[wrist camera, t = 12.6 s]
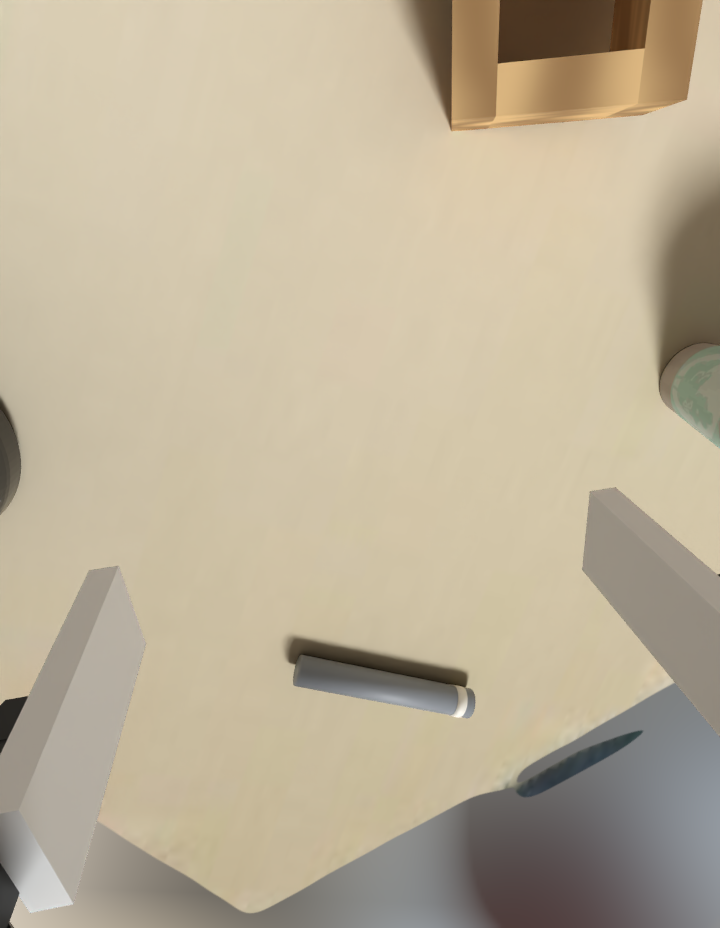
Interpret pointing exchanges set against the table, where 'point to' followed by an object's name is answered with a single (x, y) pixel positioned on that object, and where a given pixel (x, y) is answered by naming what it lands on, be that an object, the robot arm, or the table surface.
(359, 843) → the table surface
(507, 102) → the light wooden square box
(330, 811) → the table surface
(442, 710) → the gray tube
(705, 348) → the coffee cup
